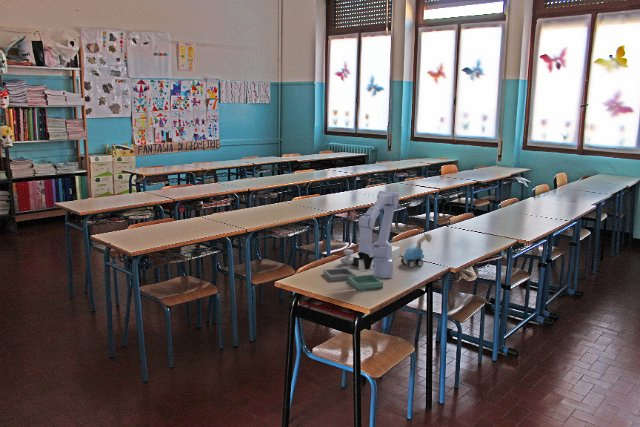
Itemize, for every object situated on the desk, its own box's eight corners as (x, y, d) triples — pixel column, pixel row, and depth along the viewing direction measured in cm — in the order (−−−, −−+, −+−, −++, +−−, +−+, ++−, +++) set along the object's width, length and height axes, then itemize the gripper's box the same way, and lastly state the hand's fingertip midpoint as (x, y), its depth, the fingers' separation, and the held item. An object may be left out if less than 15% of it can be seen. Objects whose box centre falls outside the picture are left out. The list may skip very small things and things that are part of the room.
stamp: (358, 265, 307) (358, 250, 306) (351, 267, 302) (351, 252, 301) (345, 262, 313) (345, 247, 311) (338, 264, 308) (338, 249, 306)
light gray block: (368, 268, 274) (368, 258, 273) (371, 270, 270) (371, 261, 269) (358, 269, 272) (358, 259, 271) (361, 271, 268) (361, 261, 267)
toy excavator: (433, 265, 307) (435, 234, 304) (407, 268, 301) (408, 237, 298) (425, 261, 315) (426, 231, 312) (399, 264, 309) (400, 234, 306)
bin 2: (372, 280, 281) (372, 274, 280) (382, 288, 268) (383, 282, 268) (348, 282, 277) (348, 276, 276) (357, 290, 264) (357, 284, 264)
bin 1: (346, 273, 292) (346, 267, 292) (355, 280, 280) (356, 274, 279) (323, 275, 288) (323, 269, 288) (331, 283, 276) (331, 277, 275)
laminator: (382, 254, 331) (383, 244, 329) (401, 257, 324) (402, 247, 323) (353, 267, 303) (353, 256, 302) (373, 271, 296) (373, 260, 295)
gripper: (352, 237, 274) (352, 264, 276) (364, 244, 260) (363, 272, 263) (366, 236, 276) (365, 263, 279) (378, 243, 262) (377, 271, 265)
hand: (365, 267), depth 271 cm, fingers closed on light gray block, 4 cm apart
